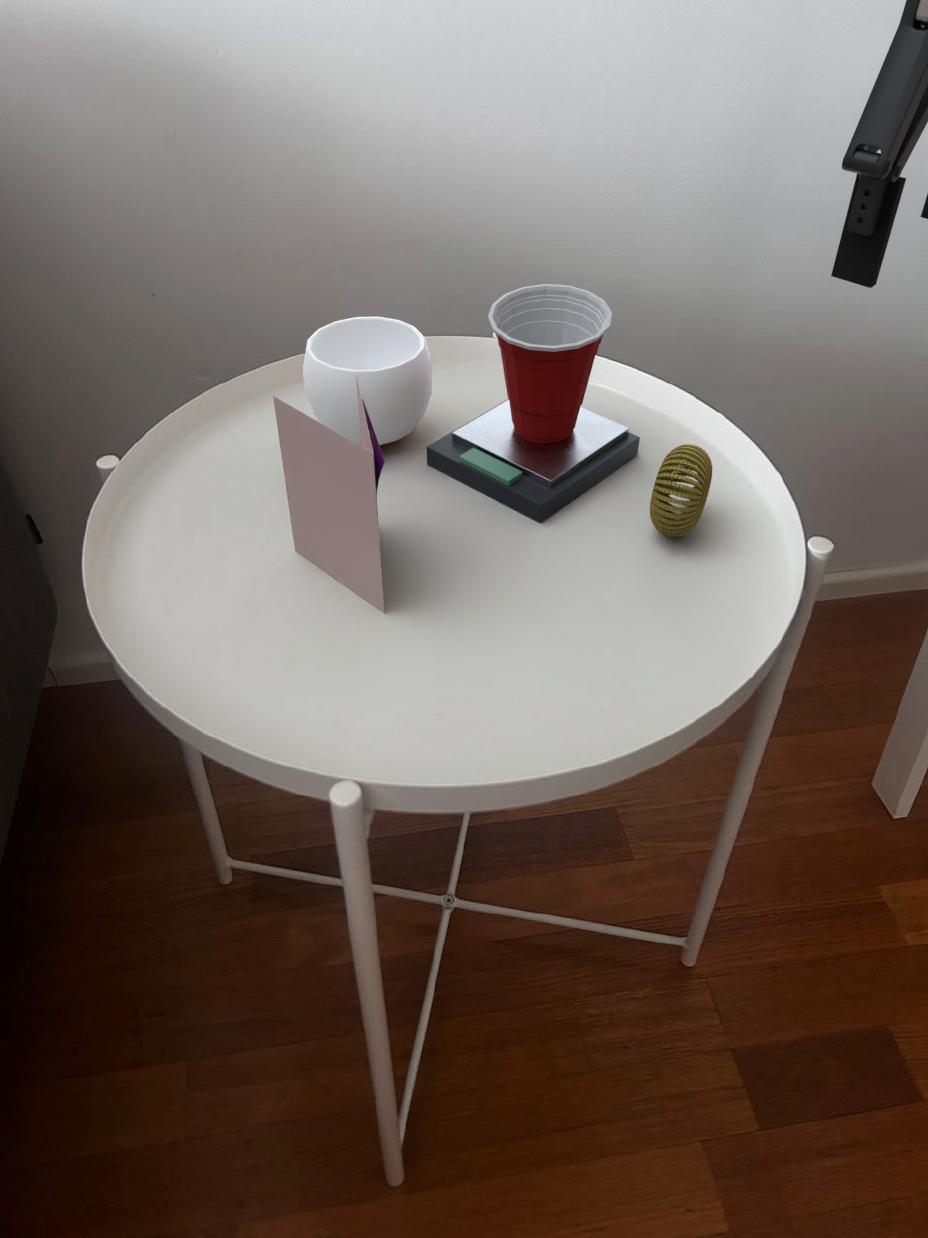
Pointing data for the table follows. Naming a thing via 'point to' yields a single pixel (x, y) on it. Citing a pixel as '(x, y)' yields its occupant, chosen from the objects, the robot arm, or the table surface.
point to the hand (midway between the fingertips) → (899, 249)
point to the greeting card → (334, 498)
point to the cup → (368, 376)
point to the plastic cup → (548, 355)
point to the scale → (532, 460)
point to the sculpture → (680, 490)
